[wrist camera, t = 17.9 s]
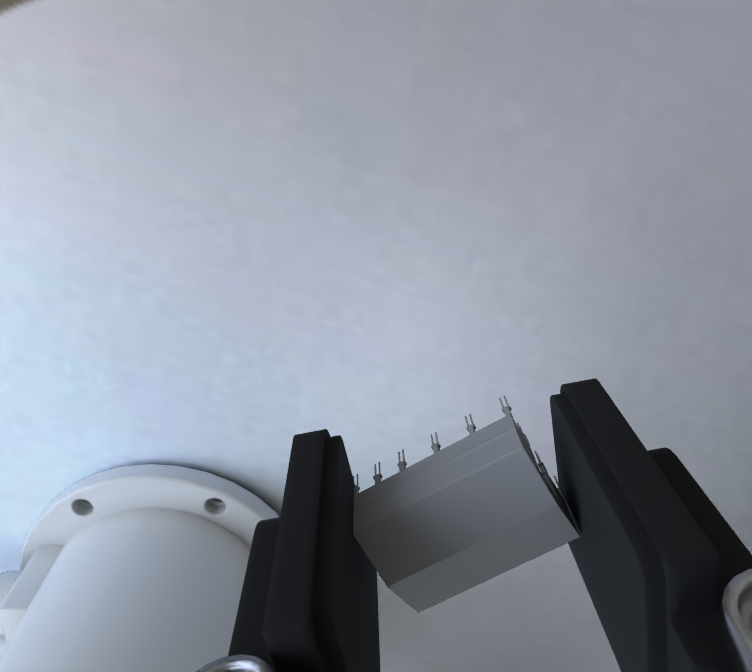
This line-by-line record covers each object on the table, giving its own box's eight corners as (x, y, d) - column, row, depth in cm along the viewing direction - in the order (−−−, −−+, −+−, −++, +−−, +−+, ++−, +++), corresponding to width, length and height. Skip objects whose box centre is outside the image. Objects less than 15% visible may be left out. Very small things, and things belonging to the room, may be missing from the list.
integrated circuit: (569, 468, 11) (603, 538, 9) (423, 561, 12) (432, 639, 10) (490, 377, 10) (513, 437, 9) (339, 483, 11) (336, 555, 9)
